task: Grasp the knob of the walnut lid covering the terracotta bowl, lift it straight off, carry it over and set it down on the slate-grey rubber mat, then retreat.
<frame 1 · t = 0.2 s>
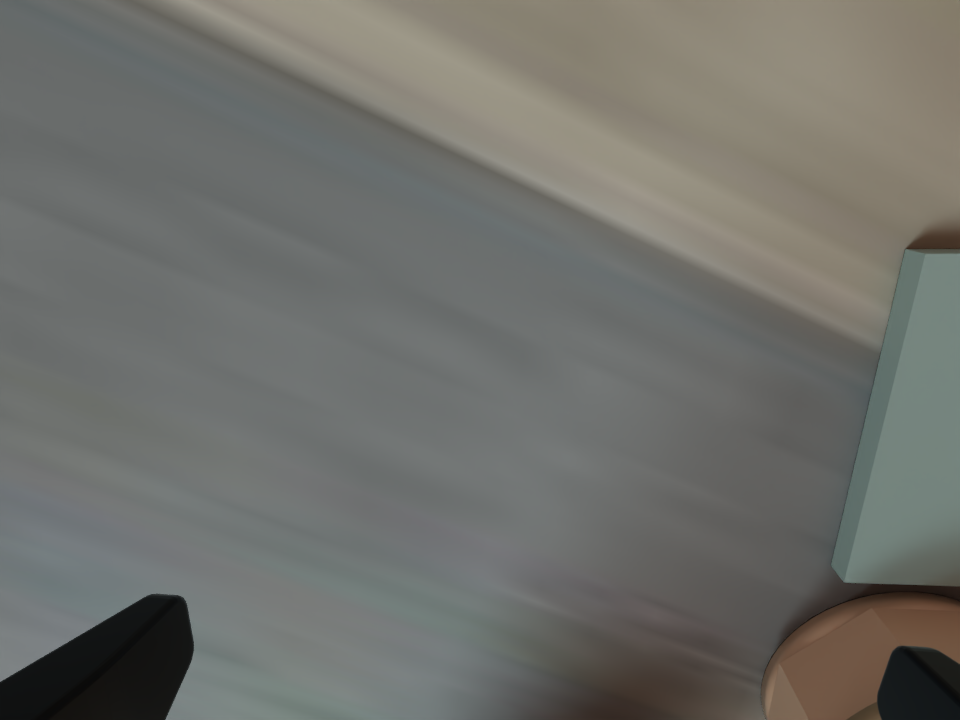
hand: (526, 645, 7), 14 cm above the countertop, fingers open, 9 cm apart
bowl: (883, 687, 25), on the countertop
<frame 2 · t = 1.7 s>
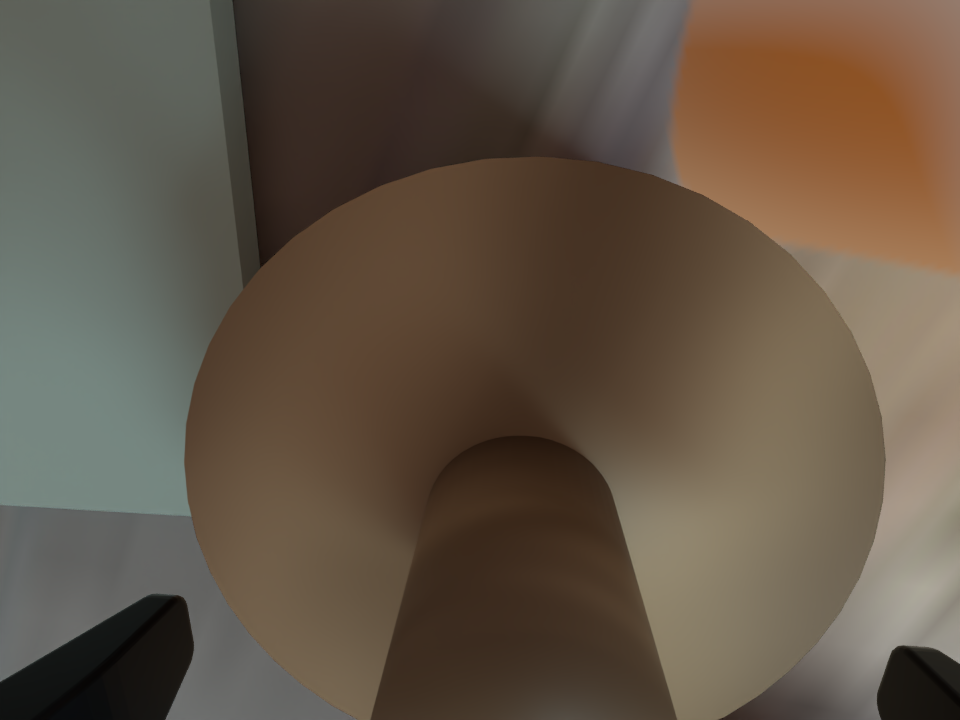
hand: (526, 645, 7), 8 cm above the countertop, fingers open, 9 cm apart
lid: (520, 494, 10), point 4 cm above the countertop, touching bowl
mat: (8, 263, 14), on the countertop
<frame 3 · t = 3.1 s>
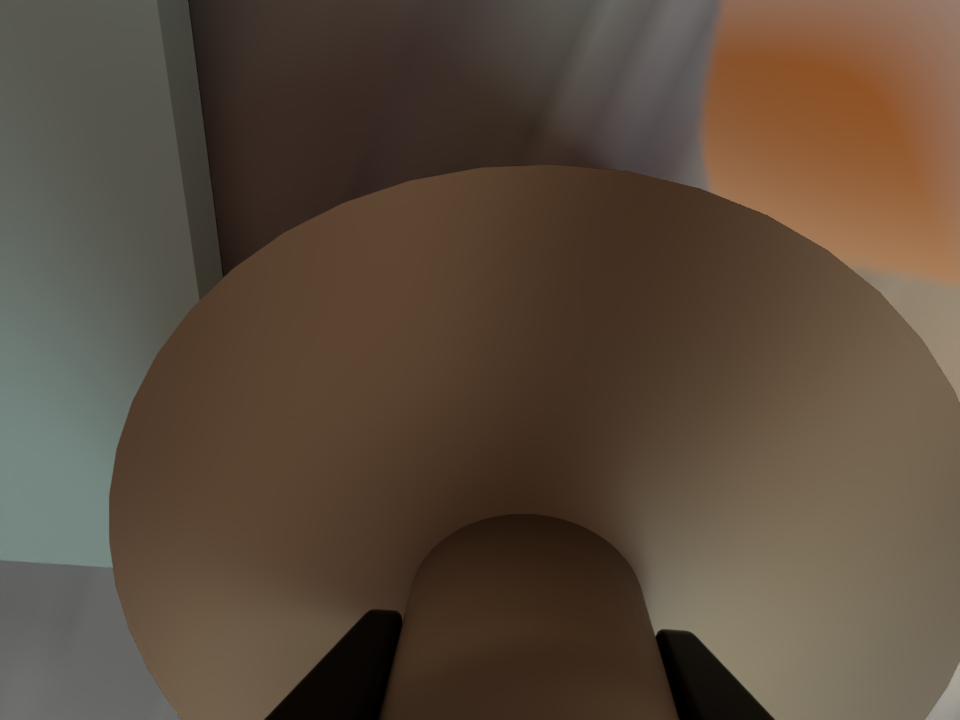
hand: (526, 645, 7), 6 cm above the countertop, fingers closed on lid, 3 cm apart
lid: (524, 573, 8), point 4 cm above the countertop, touching bowl, gripper
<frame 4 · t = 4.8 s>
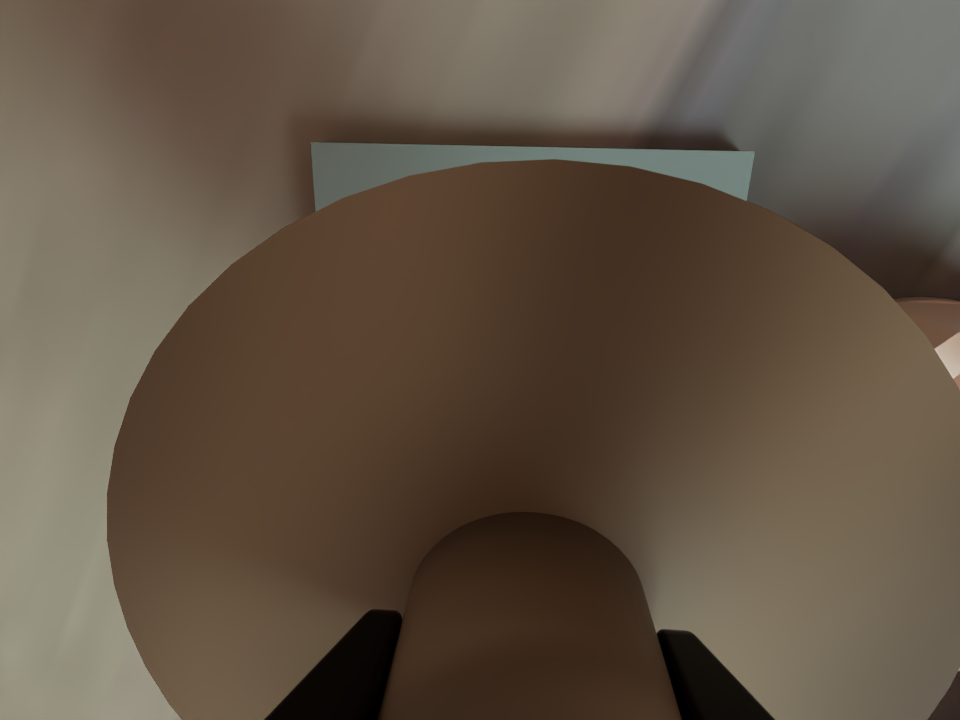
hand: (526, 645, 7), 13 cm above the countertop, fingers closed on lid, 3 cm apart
lid: (525, 572, 8), point 12 cm above the countertop, touching gripper
mat: (517, 347, 20), on the countertop
bowl: (885, 445, 20), on the countertop
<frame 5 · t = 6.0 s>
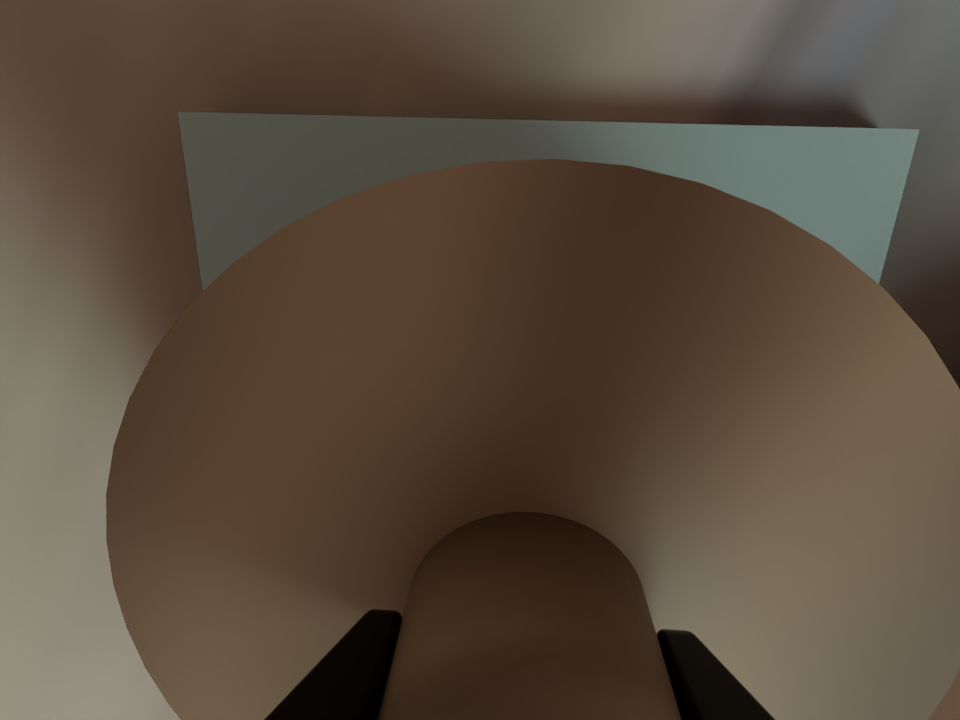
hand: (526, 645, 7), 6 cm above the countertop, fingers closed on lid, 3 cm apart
lid: (524, 572, 8), point 5 cm above the countertop, touching gripper
mat: (518, 428, 13), on the countertop
when the fingers open (4 cm above the countertop, at t = 6.8 s): lid drops 1 cm, resting on mat.
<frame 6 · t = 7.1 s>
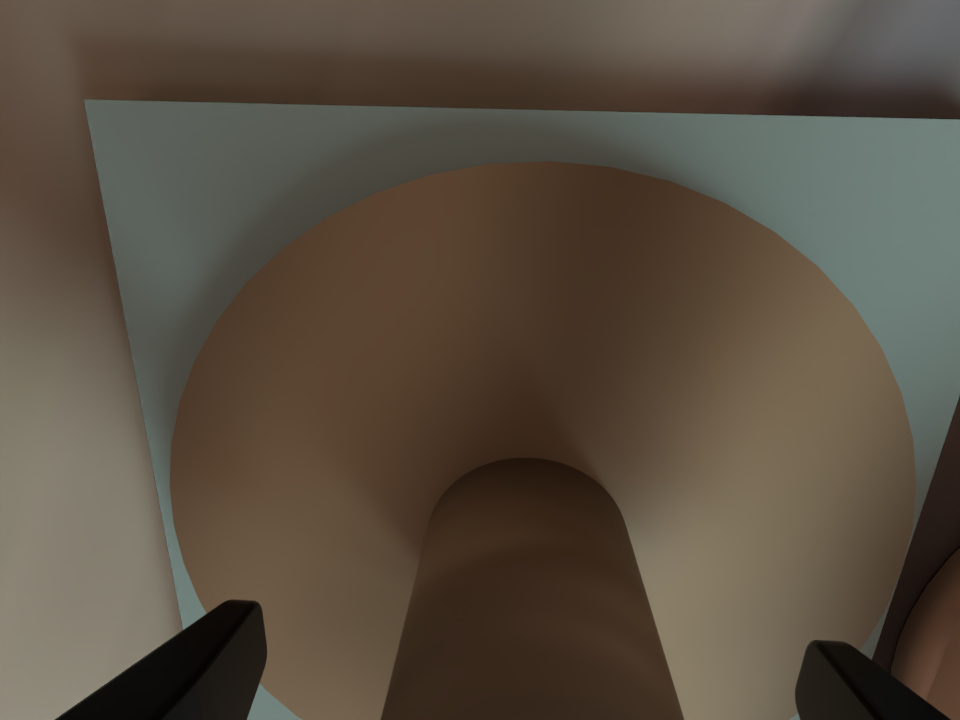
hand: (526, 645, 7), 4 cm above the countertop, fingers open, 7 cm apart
lid: (525, 516, 10), point 1 cm above the countertop, touching mat
mat: (521, 488, 11), on the countertop
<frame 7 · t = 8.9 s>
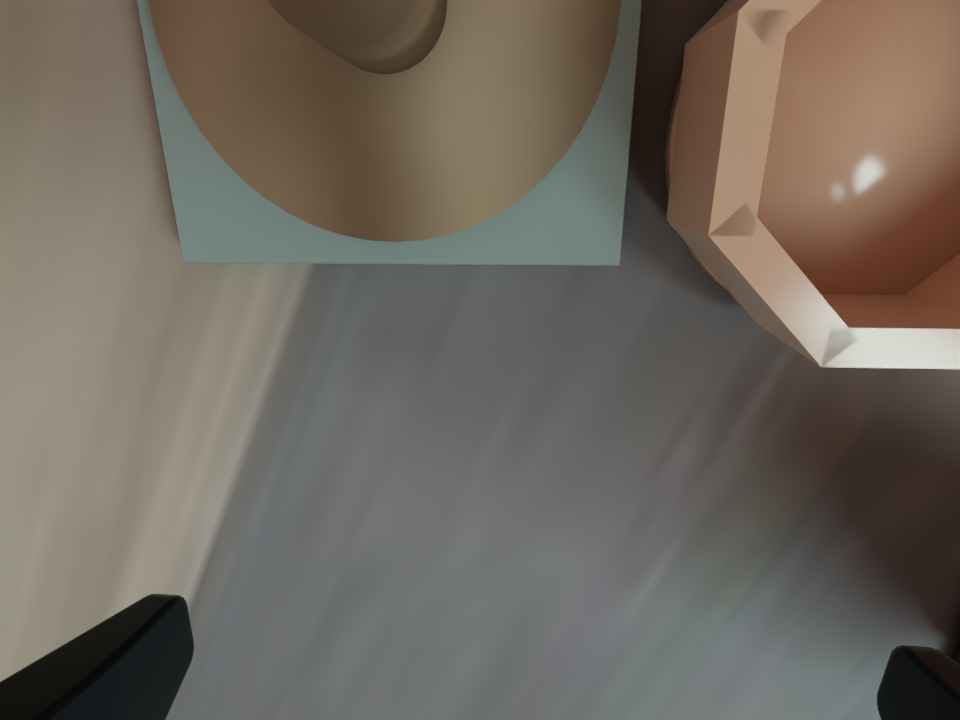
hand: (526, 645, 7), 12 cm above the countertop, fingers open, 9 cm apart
lid: (388, 9, 14), point 1 cm above the countertop, touching mat
mat: (392, 20, 15), on the countertop
bowl: (854, 137, 16), on the countertop
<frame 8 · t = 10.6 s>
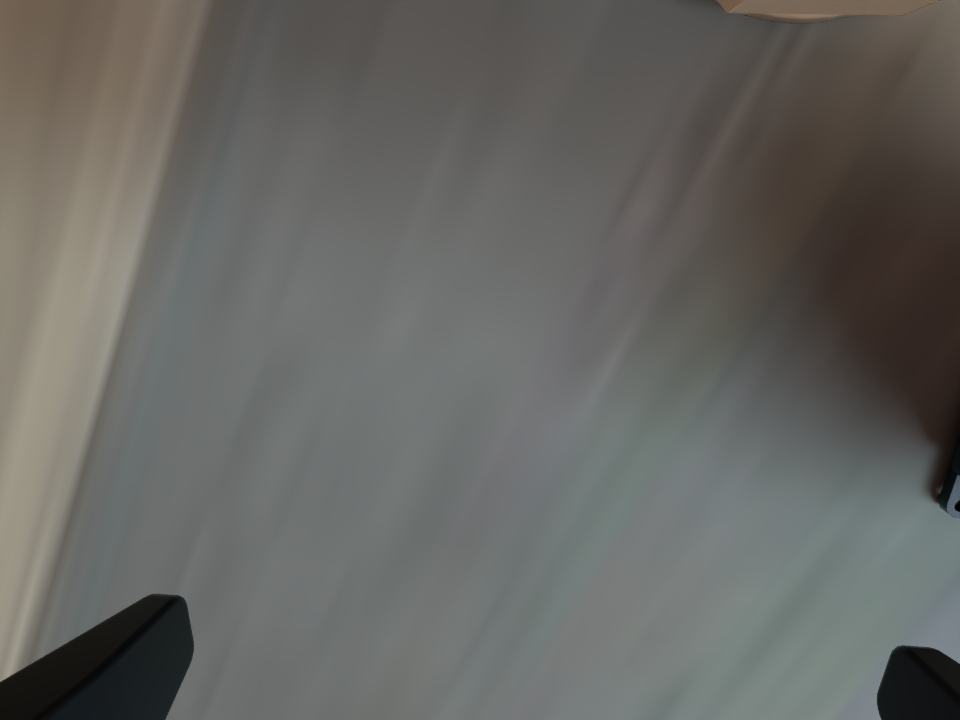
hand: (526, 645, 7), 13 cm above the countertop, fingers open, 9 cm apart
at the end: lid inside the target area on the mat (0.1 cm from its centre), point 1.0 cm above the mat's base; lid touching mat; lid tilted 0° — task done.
